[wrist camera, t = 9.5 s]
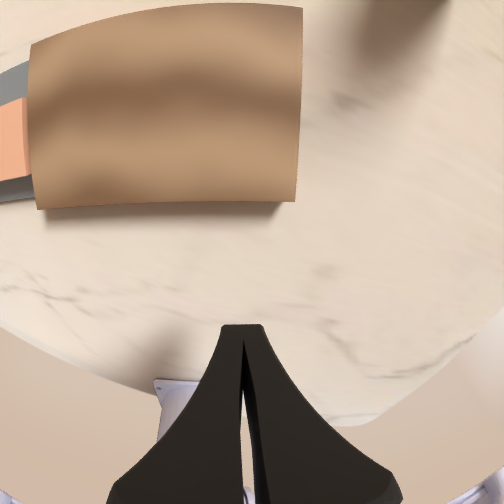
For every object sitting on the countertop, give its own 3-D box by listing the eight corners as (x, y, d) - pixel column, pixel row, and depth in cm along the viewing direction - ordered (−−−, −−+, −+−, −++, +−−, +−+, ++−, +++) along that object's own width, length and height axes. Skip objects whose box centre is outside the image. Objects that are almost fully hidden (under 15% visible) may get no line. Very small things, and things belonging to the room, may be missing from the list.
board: (288, 192, 17) (294, 202, 15) (52, 200, 16) (37, 210, 14) (295, 18, 12) (302, 7, 10) (47, 48, 11) (31, 45, 9)
